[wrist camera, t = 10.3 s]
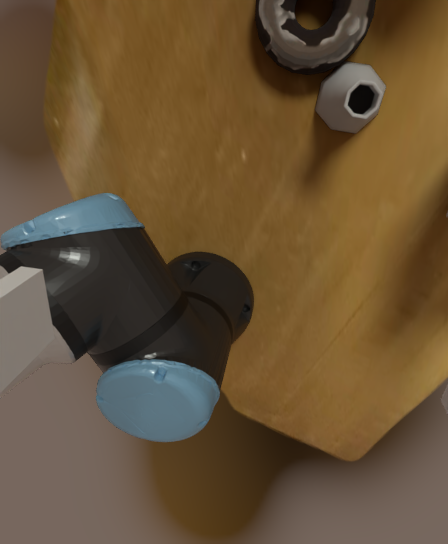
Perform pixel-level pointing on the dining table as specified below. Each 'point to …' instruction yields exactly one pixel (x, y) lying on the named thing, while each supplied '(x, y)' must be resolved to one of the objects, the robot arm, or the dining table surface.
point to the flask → (350, 97)
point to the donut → (312, 34)
